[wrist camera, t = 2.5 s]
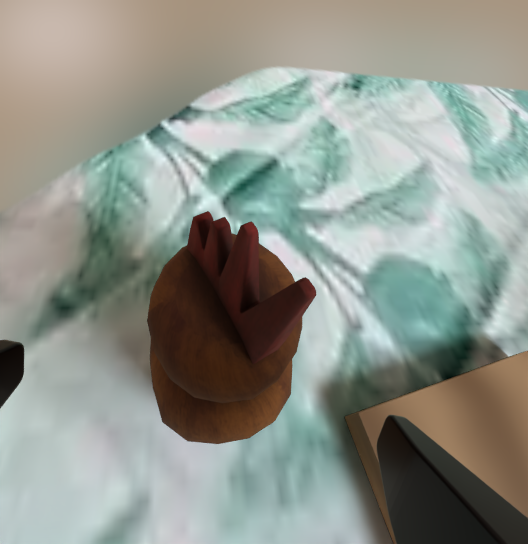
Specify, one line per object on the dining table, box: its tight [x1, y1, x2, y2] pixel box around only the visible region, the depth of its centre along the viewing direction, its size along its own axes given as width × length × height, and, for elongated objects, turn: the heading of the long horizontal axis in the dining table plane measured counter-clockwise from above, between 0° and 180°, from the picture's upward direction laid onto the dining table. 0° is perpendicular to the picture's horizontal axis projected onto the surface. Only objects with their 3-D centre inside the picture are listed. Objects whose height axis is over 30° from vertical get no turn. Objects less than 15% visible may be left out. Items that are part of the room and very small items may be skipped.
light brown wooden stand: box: [345, 351, 528, 544], centre depth 17 cm, size 12×12×2 cm
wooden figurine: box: [147, 211, 316, 444], centre depth 12 cm, size 7×6×15 cm
